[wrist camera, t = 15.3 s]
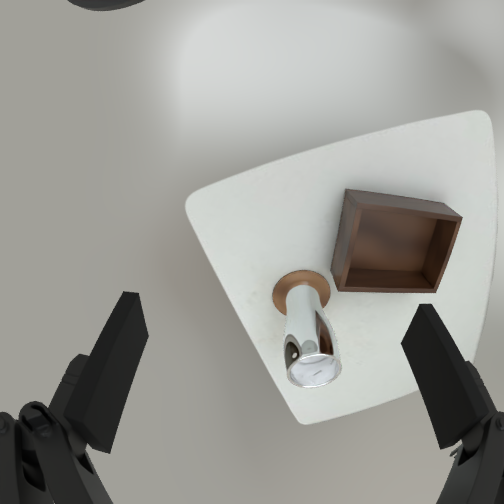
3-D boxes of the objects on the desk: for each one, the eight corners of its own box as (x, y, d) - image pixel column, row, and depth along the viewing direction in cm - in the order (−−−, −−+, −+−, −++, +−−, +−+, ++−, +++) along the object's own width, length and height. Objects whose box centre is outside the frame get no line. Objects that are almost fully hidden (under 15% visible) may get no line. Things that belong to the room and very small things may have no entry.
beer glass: (324, 275, 44) (346, 349, 30) (323, 311, 47) (340, 385, 34) (278, 279, 44) (284, 356, 31) (280, 315, 47) (285, 391, 34)
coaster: (275, 268, 44) (275, 270, 43) (334, 271, 44) (335, 273, 43) (270, 315, 48) (270, 317, 48) (323, 317, 48) (324, 318, 48)
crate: (345, 188, 38) (357, 202, 33) (443, 203, 38) (462, 217, 33) (330, 270, 44) (337, 291, 39) (422, 274, 44) (435, 293, 39)
